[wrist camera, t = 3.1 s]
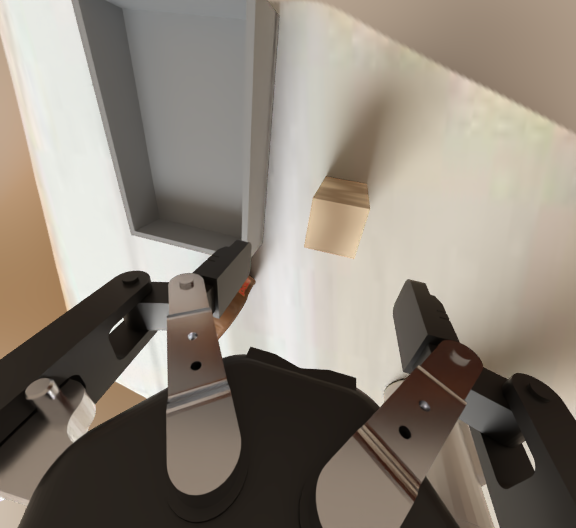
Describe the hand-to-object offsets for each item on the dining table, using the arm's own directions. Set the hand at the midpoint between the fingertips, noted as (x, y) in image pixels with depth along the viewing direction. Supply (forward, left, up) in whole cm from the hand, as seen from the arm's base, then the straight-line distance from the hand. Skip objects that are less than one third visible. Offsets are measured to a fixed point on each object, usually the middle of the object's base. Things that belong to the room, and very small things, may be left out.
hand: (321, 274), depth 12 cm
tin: (+12, +17, -15) cm, 25 cm away
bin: (+15, -3, -14) cm, 21 cm away
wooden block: (0, 0, -14) cm, 14 cm away
